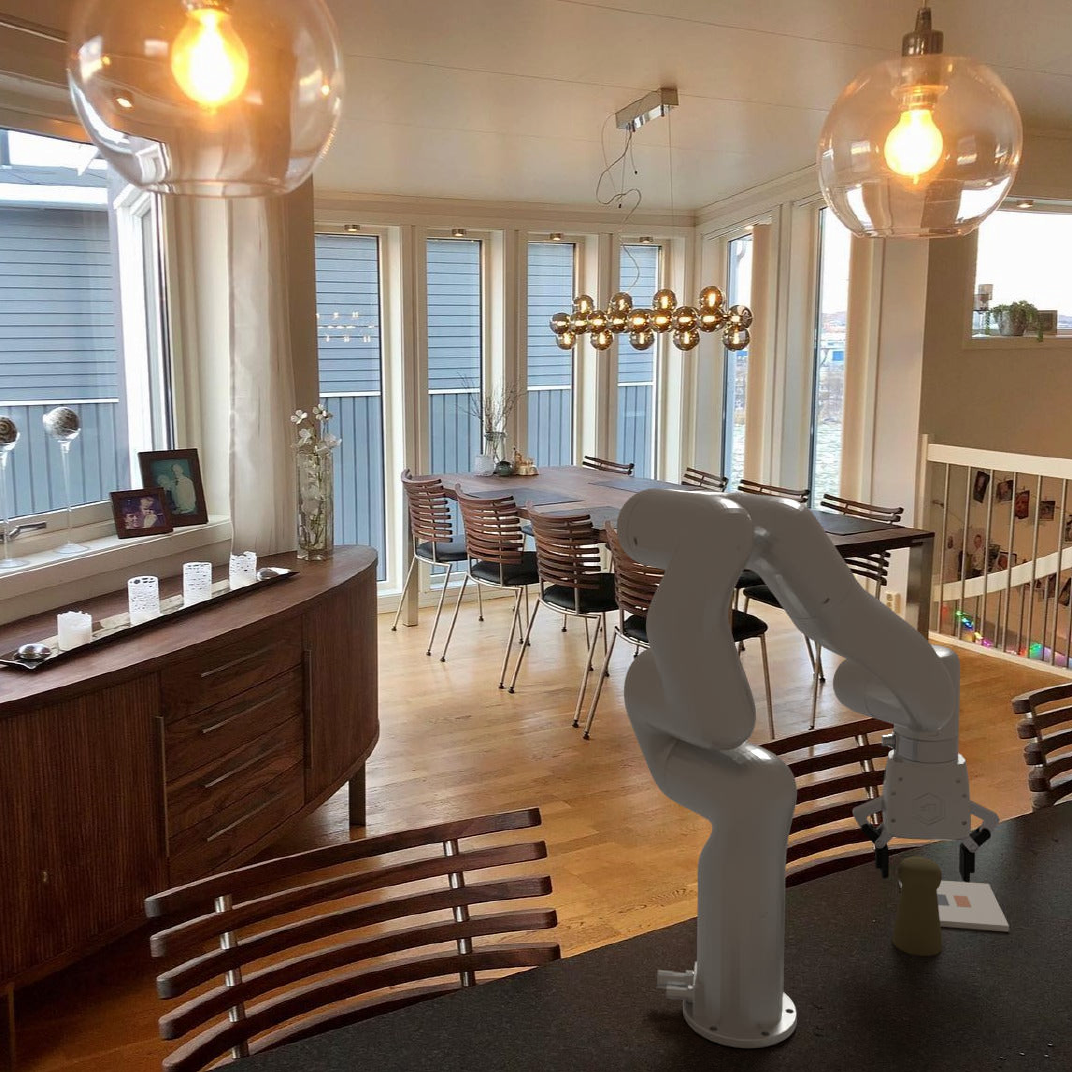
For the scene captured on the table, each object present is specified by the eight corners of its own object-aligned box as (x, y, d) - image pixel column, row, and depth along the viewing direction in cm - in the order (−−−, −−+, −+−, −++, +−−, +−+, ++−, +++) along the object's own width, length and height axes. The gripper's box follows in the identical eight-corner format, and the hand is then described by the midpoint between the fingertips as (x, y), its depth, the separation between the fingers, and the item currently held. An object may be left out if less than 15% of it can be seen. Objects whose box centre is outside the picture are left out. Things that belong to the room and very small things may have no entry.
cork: (949, 955, 134) (953, 871, 132) (900, 956, 134) (903, 871, 132) (933, 931, 140) (936, 850, 138) (885, 931, 140) (888, 850, 138)
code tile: (911, 924, 142) (911, 918, 142) (898, 882, 153) (898, 877, 153) (1008, 931, 139) (1009, 925, 139) (988, 889, 151) (988, 883, 151)
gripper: (856, 754, 131) (855, 886, 134) (1007, 758, 128) (1004, 893, 131) (850, 733, 139) (849, 859, 141) (993, 736, 135) (990, 865, 138)
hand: (923, 875), depth 136 cm, fingers open, 9 cm apart
